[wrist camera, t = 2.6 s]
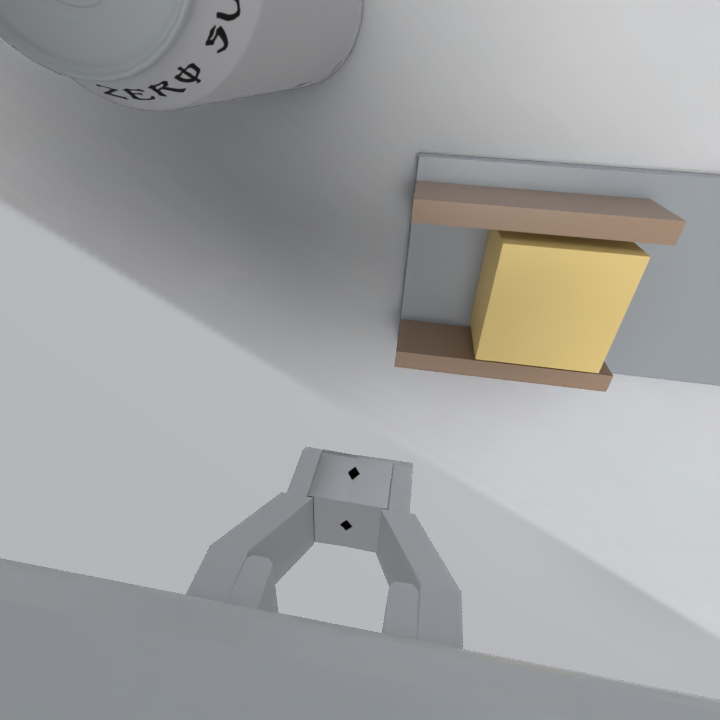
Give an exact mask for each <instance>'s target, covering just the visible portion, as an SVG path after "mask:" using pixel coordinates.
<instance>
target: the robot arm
mask: <svg viewBox="0 0 720 720" xmlns="http://www.w3.org/2000/svg"><path fill="white" fill-rule="evenodd" d="M393 462H394V464H393ZM392 471H393V472H392ZM412 473H413V464H412V463H409V462H402V461H394V460H388V459H381V458H374V457H367V456H360V455H358V456H357V455H351V454H346V453H341V452H335V451H329V450H322V449H317V448H311V447H305V448H304V450H303V451H302V454H301V457H300V459H299V462H298V465H297V467H296V470H295V473H294V475H293V478H292V481H291V484H290V486H289V489H288V491H287V493H283V492H282V493H280V494H279V495H277V496H276V497H275V498H273V499H272V500H271V501H270V502H268V503H267V504H265V505H264V506H263V507H261V508H260V509H259V510H257V511H256V512H255V513H253V514H252V515H251V516H249V517H248V518H246V519H245V520H244V521H243V522H241V523H240V524H239V525H237V526H236V527H235V528H233V529H232V530H230V531H229V532H228V533H226V534H225V535H224V536H222V537H221V538H220V539H218V540H217V541H216V542H214V543H213V544H212V545H210V547H209V549H208V551H207V553H206V555H205V557H204V559H203V561H202V563H201V565H200V567H199V569H198V571H197V573H196V575H195V577H194V579H193V581H192V583H191V585H190V587H189V589H188V591H187V593H186V595H184V594H179V593H174V592H169V591H164V590H159V589H154V588H148V587H143V586H138V585H133V584H128V583H123V582H118V581H113V580H108V579H103V578H97V577H93V576H87V575H82V574H77V573H71V572H67V571H62V570H57V569H52V568H47V567H41V566H36V565H32V564H27V563H22V562H16V561H11V560H6V559H1V558H0V720H720V700H719V699H713V698H709V697H704V696H699V695H694V694H689V693H684V692H679V691H673V690H668V689H663V688H658V687H653V686H648V685H643V684H638V683H633V682H627V681H623V680H617V679H612V678H607V677H602V676H597V675H591V674H587V673H581V672H577V671H572V670H566V669H561V668H556V667H551V666H546V665H541V664H535V663H531V662H525V661H521V660H515V659H510V658H505V657H500V656H495V655H490V654H485V653H480V652H475V651H470V650H465V649H463V634H462V602H461V591H460V589H459V588H458V586H457V584H456V583H455V581H454V579H453V578H452V576H451V574H450V573H449V571H448V569H447V567H446V566H445V564H444V562H443V561H442V559H441V557H440V556H439V554H438V552H437V551H436V549H435V547H434V546H433V544H432V542H431V541H430V539H429V538H428V536H427V534H426V532H425V531H424V529H423V527H422V526H421V524H420V522H419V521H418V519H417V517H416V516H415V514H410V513H409V511H410V498H411V485H412ZM314 542H320V543H327V544H333V545H340V546H346V547H351V548H356V549H361V550H366V551H371V552H376V555H377V557H378V559H379V562H380V564H381V567H382V569H383V572H384V575H385V577H386V579H387V582H388V584H389V591H388V597H387V604H386V610H385V616H384V623H383V629H382V633H378V632H373V631H368V630H363V629H358V628H353V627H348V626H343V625H338V624H332V623H327V622H321V621H317V620H312V619H307V618H302V617H297V616H291V615H286V614H280V613H278V606H277V597H276V589H275V584H276V583H277V582H278V581H279V580H280V579H281V578H282V576H284V575H285V574H286V572H287V571H288V570H289V569H290V568H291V567H292V566H293V565H294V564H295V563H296V562H297V561H298V560H299V559H300V558H301V557H302V556H303V555H304V554H305V553H306V551H307V550H308V549H309V548H310V547H311V546H312V545H313V544H314Z"/></svg>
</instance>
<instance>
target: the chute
mask: <svg viewBox="0 0 720 720" xmlns="http://www.w3.org/2000/svg"><path fill="white" fill-rule="evenodd" d="M490 229H492V230H503V231H514V232H526V233H537V234H549V235H560V236H571V237H583V238H594V239H606V240H617V241H628V242H635V243H636V244H637V245H638V246H639V247H640V248H641V249H642V250H644V251H645V252H646V253H647V254H648V255H649V256H650V260H649V262H648V264H647V266H646V269H645V271H644V273H643V275H642V278H641V280H640V282H639V284H638V286H637V289H636V291H635V293H634V295H633V298H632V300H631V302H630V304H629V307H628V309H627V311H626V313H625V315H624V318H623V320H622V322H621V324H620V327H619V329H618V331H617V333H616V336H615V338H614V340H613V342H612V345H611V347H610V349H609V351H608V353H607V356H606V358H605V360H604V362H603V365H602V367H601V369H600V371H599V373H592V372H583V371H574V370H565V369H557V368H548V367H539V366H531V365H522V364H513V363H504V362H496V361H487V360H478V359H475V353H474V346H473V339H472V332H471V325H470V318H471V313H472V309H473V304H474V300H475V295H476V291H477V286H478V281H479V277H480V272H481V268H482V263H483V258H484V254H485V249H486V245H487V240H488V235H489V231H490ZM395 367H401V368H410V369H418V370H427V371H435V372H444V373H452V374H461V375H469V376H478V377H486V378H495V379H503V380H512V381H520V382H529V383H537V384H546V385H554V386H563V387H571V388H579V389H588V390H596V391H605V392H606V390H607V388H608V386H609V384H610V382H611V380H612V378H613V375H612V373H613V374H622V375H631V376H639V377H648V378H657V379H666V380H674V381H683V382H692V383H701V384H709V385H718V386H720V175H715V174H702V173H688V172H674V171H661V170H647V169H634V168H620V167H606V166H593V165H579V164H565V163H552V162H538V161H525V160H511V159H497V158H484V157H470V156H456V155H443V154H429V153H419V160H418V169H417V178H416V185H415V192H414V199H413V207H412V216H411V231H410V240H409V249H408V258H407V267H406V275H405V284H404V293H403V302H402V311H401V320H400V327H399V335H398V343H397V351H396V359H395Z"/></svg>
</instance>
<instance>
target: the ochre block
mask: <svg viewBox="0 0 720 720" xmlns="http://www.w3.org/2000/svg"><path fill="white" fill-rule="evenodd" d="M649 260H650V256H649V255H648V254H647V253H646V252H645V251H644V250H642V249H641V248H640V247H639V246H638V245H637V244H636V243H635V242H628V241H617V240H606V239H594V238H583V237H571V236H560V235H549V234H537V233H526V232H514V231H503V230H492V229H490V231H489V235H488V240H487V245H486V249H485V254H484V258H483V263H482V268H481V272H480V277H479V281H478V286H477V291H476V295H475V300H474V304H473V309H472V313H471V318H470V325H471V332H472V339H473V346H474V353H475V359H478V360H487V361H496V362H504V363H513V364H522V365H531V366H539V367H548V368H557V369H565V370H574V371H583V372H592V373H599V371H600V369H601V367H602V365H603V362H604V360H605V358H606V356H607V353H608V351H609V349H610V347H611V345H612V342H613V340H614V338H615V336H616V333H617V331H618V329H619V327H620V324H621V322H622V320H623V318H624V315H625V313H626V311H627V309H628V307H629V304H630V302H631V300H632V298H633V295H634V293H635V291H636V289H637V286H638V284H639V282H640V280H641V278H642V275H643V273H644V271H645V269H646V266H647V264H648V262H649Z"/></svg>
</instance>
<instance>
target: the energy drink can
mask: <svg viewBox="0 0 720 720" xmlns="http://www.w3.org/2000/svg"><path fill="white" fill-rule="evenodd" d="M361 16H362V0H0V36H1V37H2V38H3V39H4V40H5V41H6V42H7V43H8V44H10V45H11V46H13V47H14V48H15V49H17V50H18V51H20V52H21V53H22V54H24V55H25V56H27V57H28V58H29V59H31V60H32V61H34V62H36V63H38V64H40V65H42V66H44V67H46V68H48V69H50V70H52V71H54V72H56V73H58V74H60V75H64V76H68V77H70V78H72V79H73V80H75V81H76V82H77V83H79V84H80V85H82V86H83V87H84V88H86V89H87V90H89V91H91V92H93V93H95V94H97V95H99V96H101V97H103V98H105V99H107V100H109V101H111V102H113V103H116V104H119V105H123V106H127V107H130V108H134V109H138V110H148V111H169V110H175V109H181V108H186V107H192V106H198V105H203V104H209V103H215V102H220V101H226V100H232V99H237V98H243V97H249V96H254V95H260V94H266V93H271V92H277V91H283V90H288V89H294V88H300V87H305V86H310V85H314V84H316V83H319V82H321V81H323V80H325V79H327V78H328V77H329V76H330V75H332V74H333V73H334V72H335V71H337V70H338V68H339V67H340V66H341V65H342V64H343V62H344V61H345V60H346V58H347V57H348V55H349V53H350V51H351V49H352V48H353V46H354V43H355V40H356V37H357V34H358V32H359V28H360V22H361Z"/></svg>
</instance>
